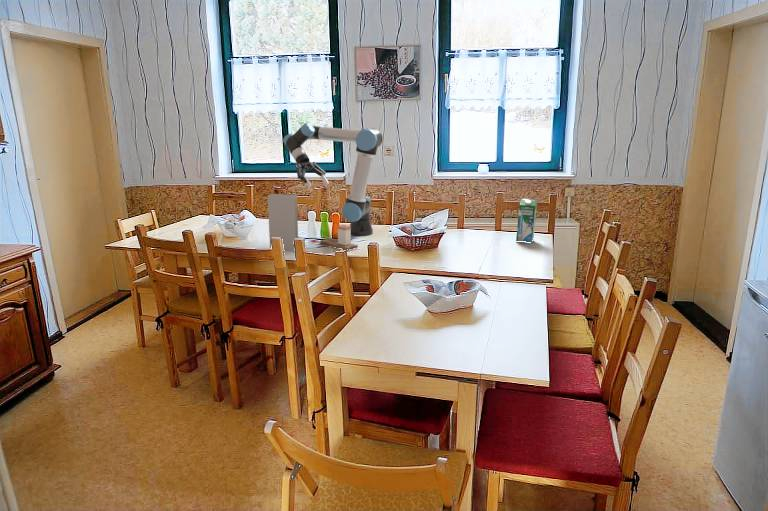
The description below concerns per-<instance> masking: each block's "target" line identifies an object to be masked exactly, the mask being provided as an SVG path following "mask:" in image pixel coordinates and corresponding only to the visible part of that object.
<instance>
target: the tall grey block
mask: <svg viewBox="0 0 768 511" xmlns="http://www.w3.org/2000/svg"><path fill="white" fill-rule="evenodd" d="M297 198H298V195H297V194H286V193H270V195H267V210H268V231H269V232H268V233H269V249H270V248H271V238H272V237H281V238H282V239H283V244H284V250H285V251H284V252H292V253H293V252H294V244H293V240H294V239H295V238H298V239H299V226H298V224H299V223H298V221H299V220H298V199H297Z"/></svg>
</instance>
